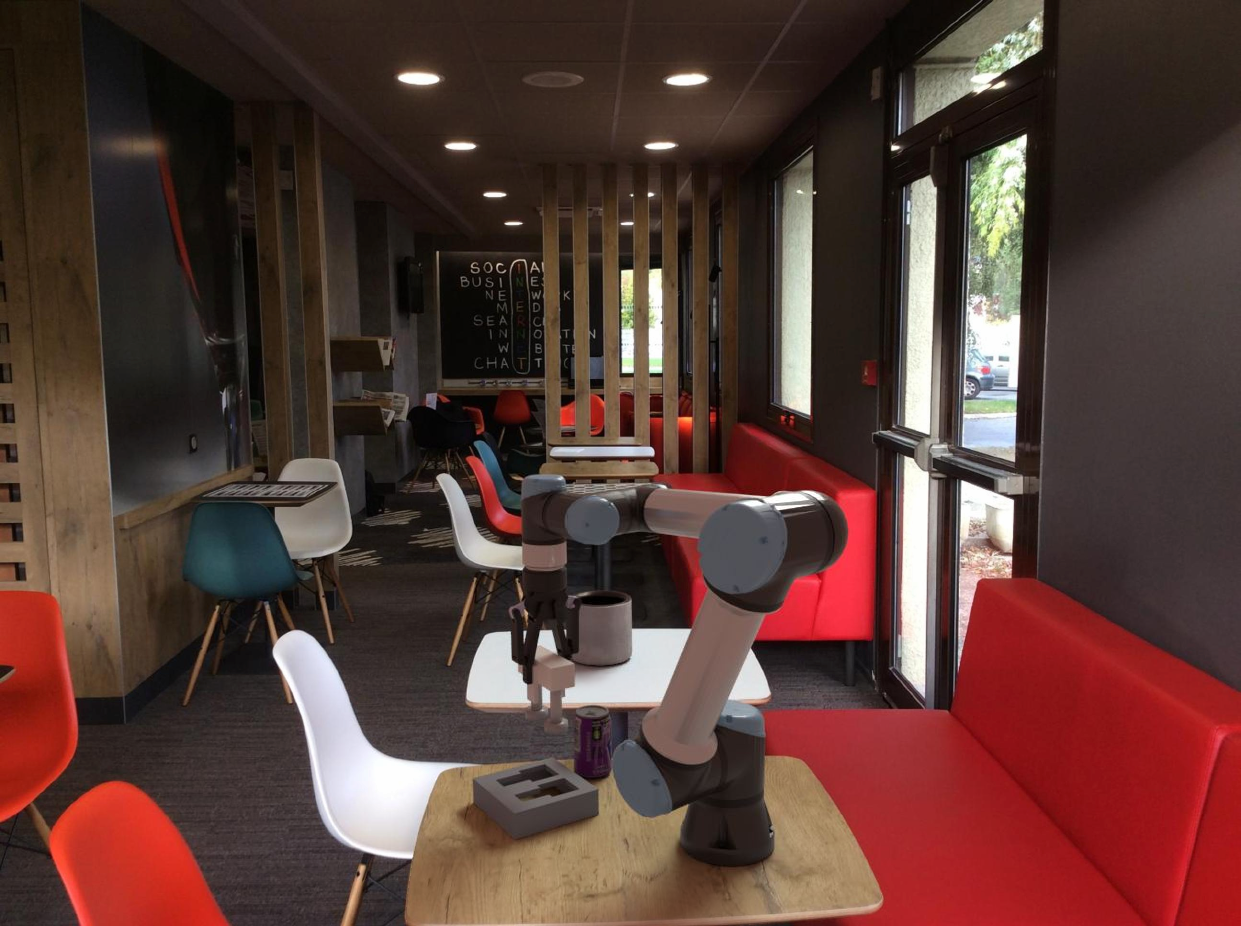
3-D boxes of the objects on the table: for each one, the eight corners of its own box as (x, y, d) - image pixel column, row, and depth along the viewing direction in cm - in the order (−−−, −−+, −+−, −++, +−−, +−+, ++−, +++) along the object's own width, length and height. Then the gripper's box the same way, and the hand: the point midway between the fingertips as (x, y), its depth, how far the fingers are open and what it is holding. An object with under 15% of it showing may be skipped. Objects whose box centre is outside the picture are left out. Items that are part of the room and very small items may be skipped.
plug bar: (575, 731, 176) (574, 663, 175) (552, 737, 174) (551, 668, 172) (541, 709, 186) (540, 645, 185) (518, 715, 184) (517, 649, 182)
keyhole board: (553, 780, 191) (552, 757, 191) (598, 814, 178) (598, 789, 177) (473, 802, 183) (472, 778, 182) (515, 839, 169) (514, 813, 169)
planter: (566, 649, 269) (566, 590, 267) (628, 646, 271) (628, 588, 269) (570, 669, 253) (569, 607, 251) (636, 666, 255) (635, 604, 253)
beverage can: (607, 781, 191) (606, 719, 189) (569, 778, 192) (569, 716, 190) (615, 765, 198) (614, 705, 196) (579, 762, 199) (578, 702, 197)
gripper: (577, 555, 184) (579, 681, 187) (487, 568, 175) (490, 701, 178) (600, 563, 178) (600, 694, 181) (507, 577, 168) (510, 715, 172)
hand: (546, 697), depth 179 cm, fingers closed on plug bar, 4 cm apart
